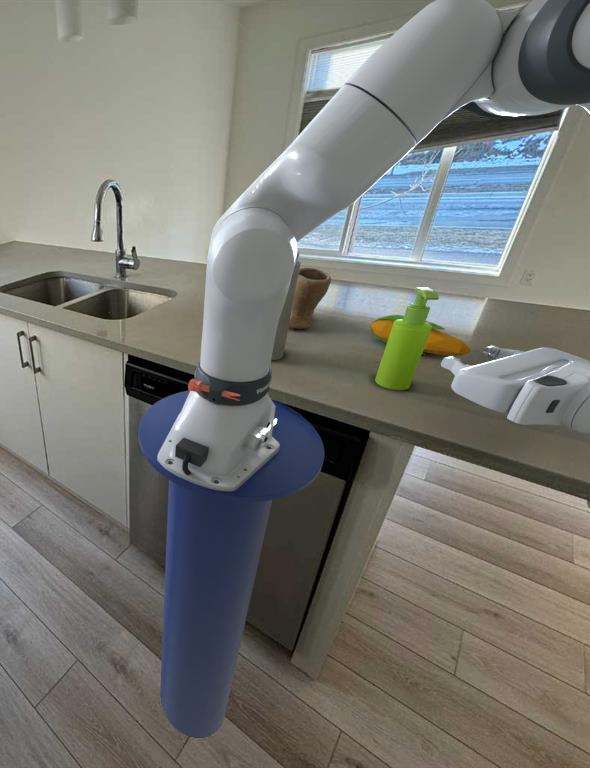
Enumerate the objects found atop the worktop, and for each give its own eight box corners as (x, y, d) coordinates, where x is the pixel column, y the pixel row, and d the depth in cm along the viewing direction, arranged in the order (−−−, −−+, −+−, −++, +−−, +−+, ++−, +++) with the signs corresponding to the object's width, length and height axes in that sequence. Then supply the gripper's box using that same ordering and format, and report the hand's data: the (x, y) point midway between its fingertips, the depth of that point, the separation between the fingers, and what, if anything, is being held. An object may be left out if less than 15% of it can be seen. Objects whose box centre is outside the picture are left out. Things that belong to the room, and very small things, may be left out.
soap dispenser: (381, 391, 81) (413, 295, 71) (371, 375, 87) (400, 283, 77) (416, 394, 80) (454, 295, 70) (403, 377, 85) (438, 284, 75)
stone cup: (318, 334, 106) (331, 278, 99) (269, 328, 112) (278, 275, 104) (322, 315, 117) (334, 263, 110) (278, 310, 123) (286, 261, 115)
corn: (386, 304, 100) (488, 328, 85) (378, 332, 104) (474, 359, 89) (367, 313, 98) (469, 339, 82) (360, 341, 102) (456, 371, 86)
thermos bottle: (241, 351, 102) (256, 235, 88) (265, 343, 104) (284, 230, 90) (265, 363, 95) (285, 240, 81) (290, 355, 97) (315, 234, 84)
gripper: (632, 360, 58) (517, 327, 70) (531, 389, 54) (427, 350, 66) (607, 396, 62) (501, 359, 73) (510, 427, 57) (414, 383, 69)
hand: (465, 355), depth 69 cm, fingers open, 8 cm apart
